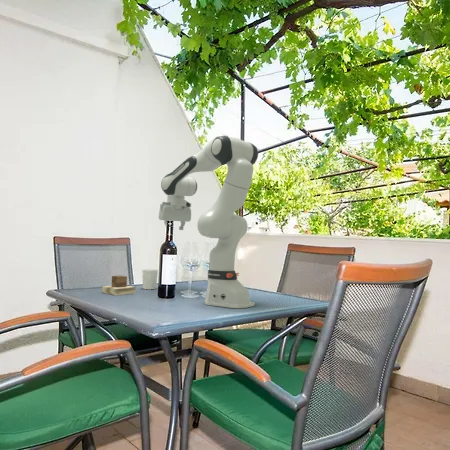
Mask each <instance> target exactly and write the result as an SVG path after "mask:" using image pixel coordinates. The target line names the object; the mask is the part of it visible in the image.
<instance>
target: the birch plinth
mask: <svg viewBox="0 0 450 450" xmlns="http://www.w3.org/2000/svg"><path fill="white" fill-rule="evenodd" d="M111 286H112V285H106V286H105V285H103V286H101V293H102V294H105V295H106V294H107V295H112V296H124V295H131V294H132V295H133V294H136V286H131V285H127V287H120V288H117V287H111Z"/></svg>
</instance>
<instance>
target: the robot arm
mask: <svg viewBox="0 0 450 450" xmlns="http://www.w3.org/2000/svg"><path fill="white" fill-rule="evenodd" d="M258 157H259V150H258V148H257V146H256V145H255V144H253V143H252V142H248V141H244V140H243V139H240V138H236V137H233V136H228V135H226V133H225V134H223V133H220V134H218V135H216V136H214V138H212V139H211V140H210V141H209V142H208V143H207V144H206V145H205V146H204V147H203V148H202V149H201V150H200V151H198V152H197V153H195V154H194V155H192V156H190V157H187V158H186V159H185V160H183V162H181V163H180V164H179V165H178V166H177V167H176V168H175V169H174V170H172V172H170V173H167V174H166V175H165V176H163V178H162V179H161V181H160V182H161V183H160V186H161V187H160V188H161V189H162V191H163V193H164V194H165V195H166V197H167V198H166V199H167V201H163V202H161V203H160V206H159V207H160V208H159V212H158V220H159V221H164V225H165V227H166V226H167V221H169V222H170V221H174V222H180V226H179V227H178V229H179V231H184V227H185V224H186V222H191V221H192V209H191V208H192V203H190V202H189V201H187V200H186V199H185V198H186V197H193V196H194V195H195V194H196V193H197V190H198V182H197V181H196V178H193V177H192V176H189V175H190V174H193V173H201V172H202V173H205V172H213V171H215V170H217V169H219V168H220V167H221V166H224V165H226V166H227V173H226V176H225V178H224V182H223V184H222V187H221V189H220V193H219V195H218V198H216V199H217V200H216V201H215V202H214V203H213V205H212V206H211V207H210V209H209V210H208V211H206V212H204V213H203V214H201V216H199V218H198V220H197V226H196V227H197V230H198V233H199V234H200V235H201V236H203V237H206V238H209V239H218V241H217V243H216V246H214V247H213V248H212V249H211V250H210V251H209V259H208V261H209V270H207V280H208V282H207V289H206V294H205V298H204V301H203V302H204V304H205V305H206V306H213V307H214V306H215V307H222V308H231V309H245V308H251V307H255V305H256V304H255V303H256V302H253V301H251V299H250V291H249V290H248V289H247V288H246V287H245V285H243V284H242V283H241V282H240V281H239V280H238V276H240V273H239V272H236V270H235V260H236V253H237V252H236V251H237V248H238V246H239V242H240V241H241V239H242V238H243V237H244V236H245V235H246V234H247V231H248V226H249V225H248V222H247V220H246V218H245V217H243V216H241V215H238V214H235V212H236V211H237V210H239V209H241V208H242V207H243V206H244V205H245V202H246V198H247V196H248V192H249V190H250V186H251V184H252V179H253V175H254V164H255V163H256V162H257V160H258Z"/></svg>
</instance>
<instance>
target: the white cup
mask: <svg viewBox="0 0 450 450" xmlns="http://www.w3.org/2000/svg"><path fill="white" fill-rule="evenodd" d="M158 273H159V270H158V269H156V268H142V289H143V290H146V289H150V290H151V289H154V290H156V289H157V285H158Z"/></svg>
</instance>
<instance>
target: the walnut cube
mask: <svg viewBox="0 0 450 450" xmlns="http://www.w3.org/2000/svg"><path fill="white" fill-rule="evenodd" d="M127 284H128V276H126V275H112V276H111V285H110V286H111V287H117V288H120V287H127V286H128V285H127Z"/></svg>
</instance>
